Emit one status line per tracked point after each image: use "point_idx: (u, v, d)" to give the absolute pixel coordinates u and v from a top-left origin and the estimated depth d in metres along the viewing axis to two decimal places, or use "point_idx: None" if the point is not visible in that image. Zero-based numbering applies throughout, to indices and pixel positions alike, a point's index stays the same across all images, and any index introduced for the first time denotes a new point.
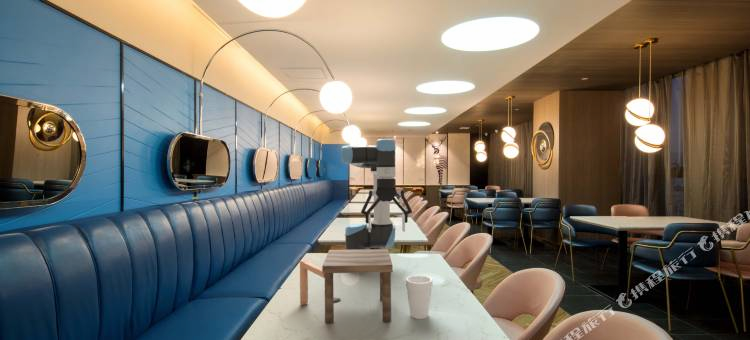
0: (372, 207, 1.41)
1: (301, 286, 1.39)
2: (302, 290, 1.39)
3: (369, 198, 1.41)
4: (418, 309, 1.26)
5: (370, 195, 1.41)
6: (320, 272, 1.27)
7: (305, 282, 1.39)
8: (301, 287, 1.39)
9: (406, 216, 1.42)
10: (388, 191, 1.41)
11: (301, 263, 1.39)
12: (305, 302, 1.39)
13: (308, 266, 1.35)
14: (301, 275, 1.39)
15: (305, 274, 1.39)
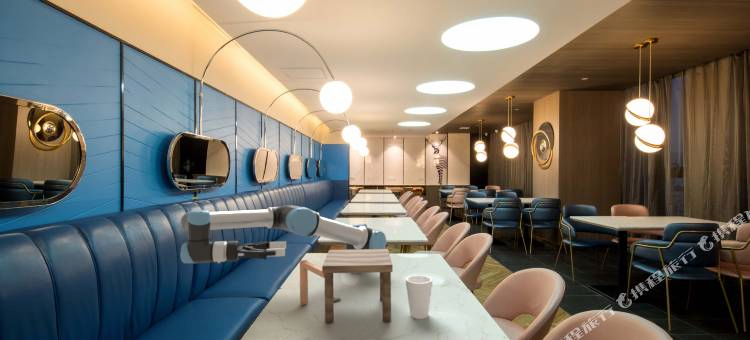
0: None
1: (301, 286, 1.39)
2: (302, 290, 1.39)
3: None
4: (418, 309, 1.26)
5: None
6: (320, 272, 1.27)
7: (305, 282, 1.39)
8: (301, 287, 1.39)
9: None
10: None
11: (301, 263, 1.39)
12: (305, 302, 1.39)
13: (308, 266, 1.35)
14: (301, 275, 1.39)
15: (305, 274, 1.39)
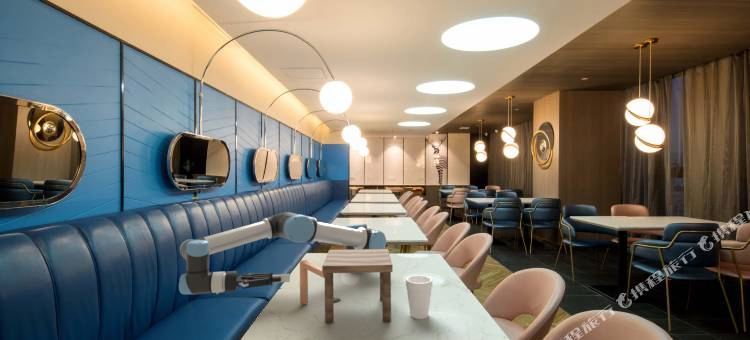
0: None
1: (301, 286, 1.39)
2: (302, 290, 1.39)
3: None
4: (418, 309, 1.26)
5: None
6: (320, 272, 1.27)
7: (305, 282, 1.39)
8: (301, 287, 1.39)
9: None
10: None
11: (301, 263, 1.39)
12: (305, 302, 1.39)
13: (308, 266, 1.35)
14: (301, 275, 1.39)
15: (305, 274, 1.39)
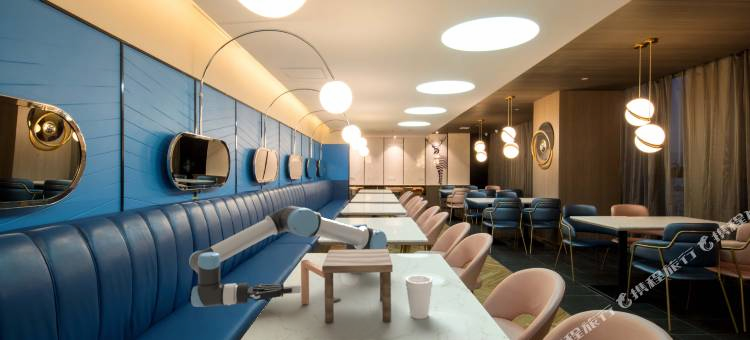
0: None
1: (302, 286, 1.39)
2: (303, 290, 1.39)
3: None
4: (418, 309, 1.26)
5: None
6: (320, 272, 1.27)
7: (306, 282, 1.39)
8: (302, 287, 1.39)
9: None
10: None
11: (302, 263, 1.39)
12: (306, 302, 1.39)
13: (309, 266, 1.35)
14: (302, 275, 1.39)
15: (306, 273, 1.39)
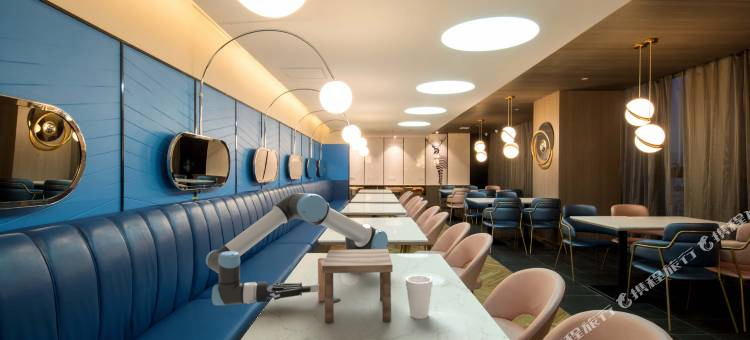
0: None
1: (318, 283, 1.43)
2: (319, 287, 1.42)
3: None
4: (418, 309, 1.26)
5: None
6: None
7: (322, 279, 1.42)
8: None
9: None
10: None
11: (318, 260, 1.42)
12: (322, 299, 1.42)
13: (321, 264, 1.37)
14: (318, 272, 1.43)
15: None
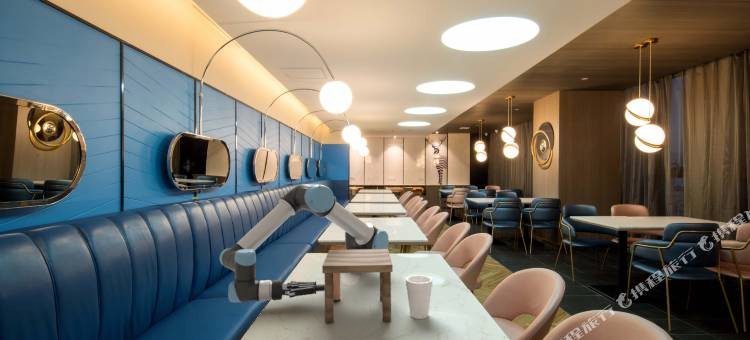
0: None
1: None
2: (333, 286, 1.43)
3: None
4: (418, 309, 1.26)
5: None
6: None
7: (335, 279, 1.43)
8: (333, 283, 1.44)
9: None
10: None
11: None
12: (335, 298, 1.43)
13: None
14: None
15: None
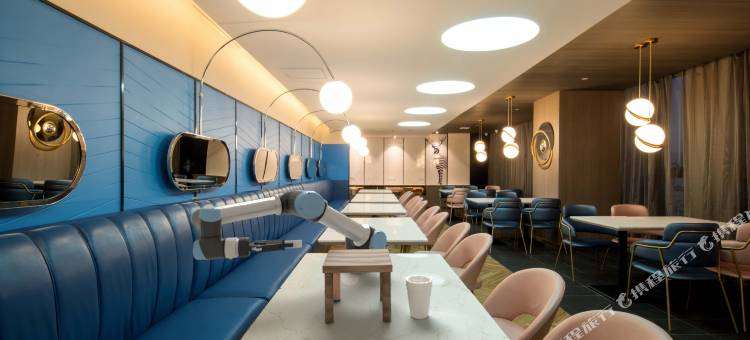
0: None
1: (333, 282, 1.44)
2: (333, 286, 1.43)
3: None
4: (418, 309, 1.26)
5: None
6: None
7: (336, 279, 1.43)
8: (333, 283, 1.44)
9: None
10: None
11: None
12: (336, 298, 1.43)
13: None
14: None
15: None
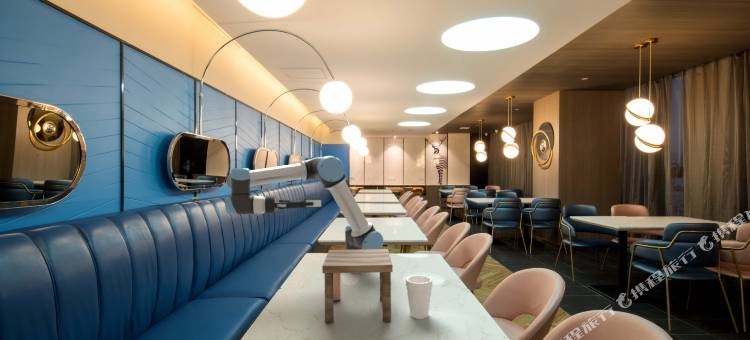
0: None
1: (333, 282, 1.44)
2: (333, 286, 1.43)
3: None
4: (418, 309, 1.26)
5: None
6: None
7: (336, 279, 1.43)
8: (333, 283, 1.44)
9: (307, 205, 1.54)
10: (274, 207, 1.51)
11: None
12: (336, 298, 1.43)
13: None
14: None
15: None
